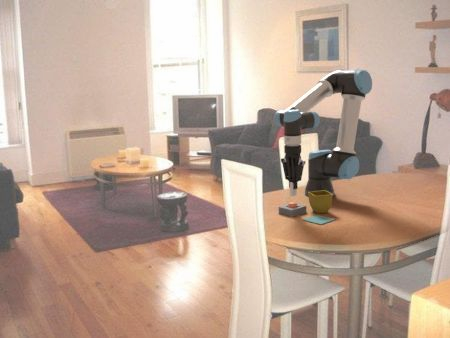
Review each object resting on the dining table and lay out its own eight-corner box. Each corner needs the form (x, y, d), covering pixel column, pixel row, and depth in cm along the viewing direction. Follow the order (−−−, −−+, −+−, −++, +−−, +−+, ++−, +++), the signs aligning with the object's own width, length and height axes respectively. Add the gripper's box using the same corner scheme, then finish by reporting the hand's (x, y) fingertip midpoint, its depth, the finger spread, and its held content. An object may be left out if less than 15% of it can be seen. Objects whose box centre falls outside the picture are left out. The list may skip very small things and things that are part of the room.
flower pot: (315, 215, 240) (315, 195, 238) (307, 210, 248) (307, 191, 246) (333, 213, 242) (333, 194, 240) (324, 208, 250) (324, 190, 248)
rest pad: (316, 215, 239) (317, 214, 239) (335, 220, 231) (335, 219, 231) (302, 220, 232) (302, 219, 232) (320, 225, 225) (320, 224, 225)
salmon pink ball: (292, 210, 247) (292, 201, 246) (298, 211, 244) (298, 203, 243) (286, 211, 244) (286, 203, 244) (292, 213, 241) (292, 204, 241)
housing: (293, 209, 250) (293, 202, 250) (306, 212, 244) (306, 205, 244) (278, 213, 244) (278, 206, 243) (291, 216, 238) (291, 210, 237)
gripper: (276, 144, 240) (277, 194, 245) (298, 147, 231) (298, 199, 236) (287, 142, 245) (288, 191, 250) (309, 144, 236) (309, 196, 241)
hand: (293, 195), depth 243 cm, fingers closed
